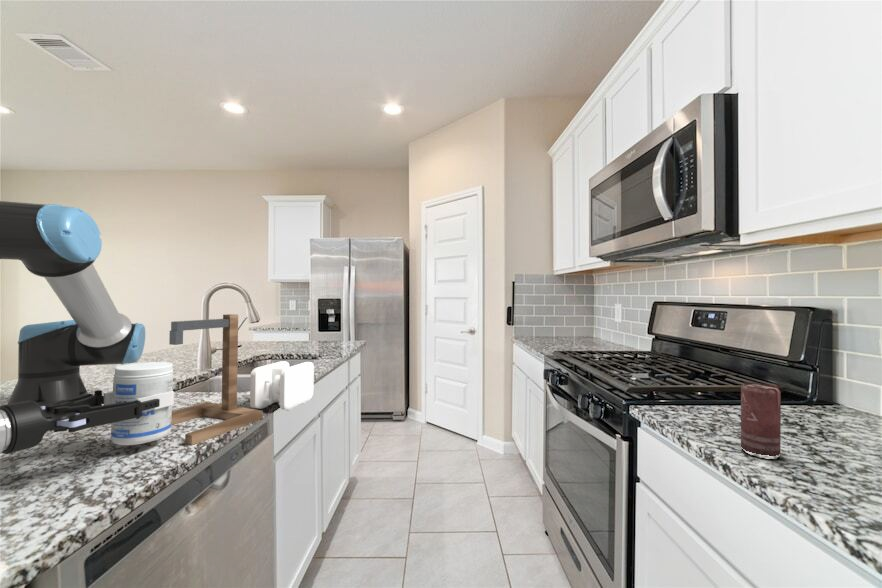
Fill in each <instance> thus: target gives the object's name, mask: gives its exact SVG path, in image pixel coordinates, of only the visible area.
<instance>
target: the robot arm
mask: <svg viewBox="0 0 882 588" xmlns="http://www.w3.org/2000/svg"><path fill="white" fill-rule="evenodd" d="M100 235H101V231H100V229H99V227H98V224H97V222H96V221H95V220H94V218H93V217H92V216H91V215H90V214H89V213H88V212H86V211H84V210H82V209H81V208H79V207H78V208H77V207H74V206H73V207H72V206H67V205H66V206H65V205H62V204H55V203H54V204H42V203H28V202H18V201H17V202H16V201H8V200H7V201H4V200H0V260H15V261H17V260H18V261H21V262H22V264H23V265H24V267H25V268H26V269H27V270H28V271H29V273H31V274H33V275H34V276H37V277H41V278H44V279H45V280H46V282H47V283H48V285H49V286H50V287H51V289H52V290H53V292H54V293H55V295H56V296H57V297H58V299H59V301H60V302H61V304H62V305H63V306H64V308H65V309H66V311H67V312H68V314H69V315H70V317H71V318H72V319H69V320H61V321H60V320H59V321H52V322H42V323H33V324H27V325H24V326H22V327H21V328H20V330H19V333H18V334H19V335H18V341H17V344H18V348H17V349H18V354H17V355H18V358H17V359H18V364H17V365H18V366H17V367H18V369H17V371H18V373H17V375H18V376H17V382H16V384H15V386H14V389H13V391H12V393H11V395H10V397H9V399H8V400H7V401H8V402H7V404H3V405H0V455H1V454H3V455H8V454H13V453H16V452H20V451H23V450H27V449H31V448H34V447H37V446H38V445H39V444H40V443H41V442H42V440H43V438H44V436H45V435H46V433H48V432H52V431H53V432H54V433H58V432H60V433H61V432H66V431H68V433H76V432H78V431H83V430H85V429H90V428H94V427H99V426H103V425H109V424H111V423H114V422H119V421H124V420H129V419H133V418H136V419H139V418H140V417H142V416H143V412H147V411H151V410H155V409H159V408H163V407H167V406H170V405H172V406H173V405H175V391H169V392H165V393H161V394H156V395H152V396H147V397H143V398H138V399H136V401H131V402H123V403H116V404H112V398H113V391H110V392H105V393H103V390H101V389H99V390H94V394H93V393H88V391H87V389H86V386H85V383H84V382H83V379H82V376H81V372H80V371H81V370H80V367H82V366H83V367H85V366H100V365H101V366H102V365H103V366H106V365H107V366H108V365H127V364H134V363H138V361H139V360H140V359H141V357H142V355H143V352H144V348H145V345H146V344H145V343H146V327H145V325H144V324H143V323H138V322H136V323H132V321H131V319H130V318H129V317H128V316H127V315H124V313H120V312H119V311H118V309H117V307H116V306H115V304H114V301H113V300H112V298H111V296H110V294H109V292H108V290H107V288H106V287H105V285H104V283H103V281H102V279H101V277H100V275H99V273H98V270H96V267H95V265H94V264H95V262H96V259H97V258H99V256H100V254H101V252H102V245H103V244H102V243H103V242H102V238H101V236H100Z"/></svg>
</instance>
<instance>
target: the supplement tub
mask: <svg viewBox="0 0 882 588" xmlns="http://www.w3.org/2000/svg"><path fill="white" fill-rule="evenodd" d="M173 366H174V364H173V363H172V362H168V361H149V362H148V361H147V362H146V361H145V362H135V363H127V364H121V365H118V366H116V367H114V374H113V381H112V392H113V398H112V404H116V403H123V402H131V401H136V399H138V398H143V397H147V396H152V395H156V394H161V393H165V392H169V391H173V389H174V386H173V385H174V369H173V368H174V367H173ZM172 411H173V405H170V406H167V407H163V408H159V409H155V410H151V411H147V412H143V416H142V417H140V418H139V419H136V418H133V419H129V420H124V421H119V422H114V423H110V424H111V426H110V429H111V430H110V440H111V442H112V443H113V444H116V445H118V446H119V445H120V446H134V445H141V444H146V443H150V442H154V441H157V440H160V439H162V438H164V437H166V436H167V435H169V434H170V432H171V430H172V425H171V418H172Z"/></svg>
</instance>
